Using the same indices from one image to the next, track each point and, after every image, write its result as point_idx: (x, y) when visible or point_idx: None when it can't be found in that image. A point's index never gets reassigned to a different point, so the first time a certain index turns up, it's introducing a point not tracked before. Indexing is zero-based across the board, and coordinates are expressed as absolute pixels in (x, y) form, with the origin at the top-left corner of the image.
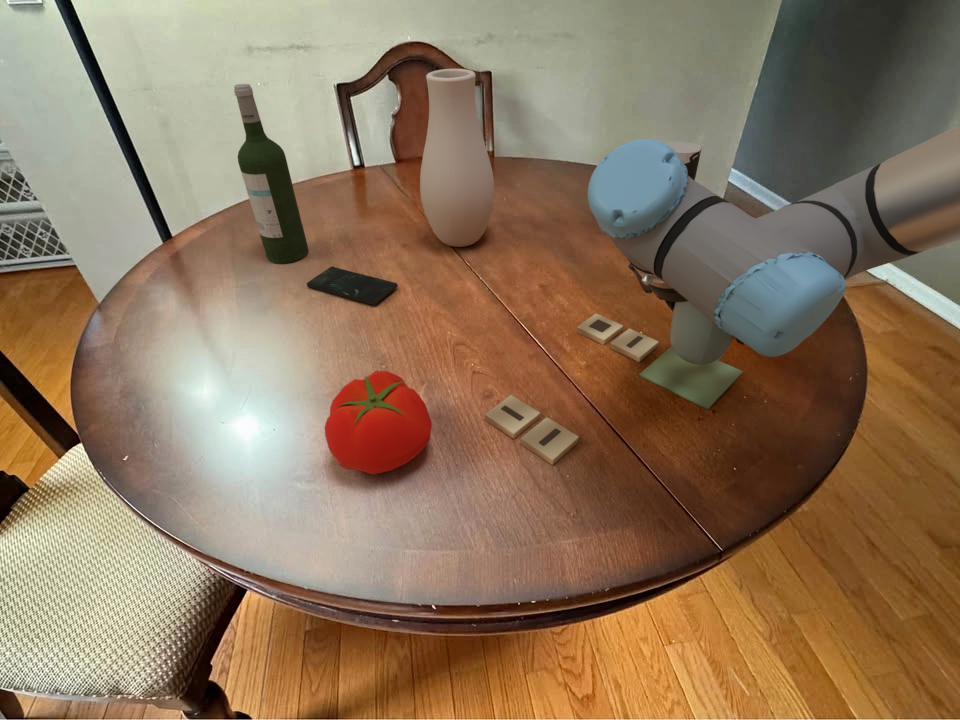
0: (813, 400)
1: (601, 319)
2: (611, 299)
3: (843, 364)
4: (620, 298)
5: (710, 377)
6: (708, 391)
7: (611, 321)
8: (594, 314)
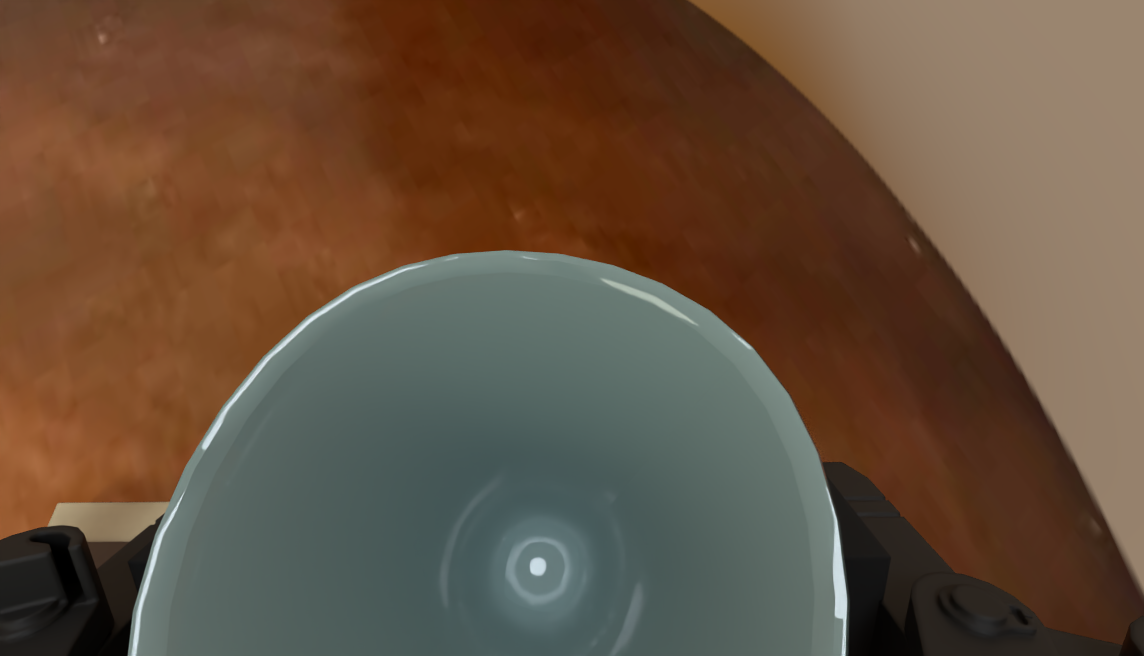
0: (925, 410)
1: (91, 529)
2: (116, 351)
3: (862, 202)
4: (148, 325)
5: None
6: None
7: (139, 511)
8: (51, 517)
